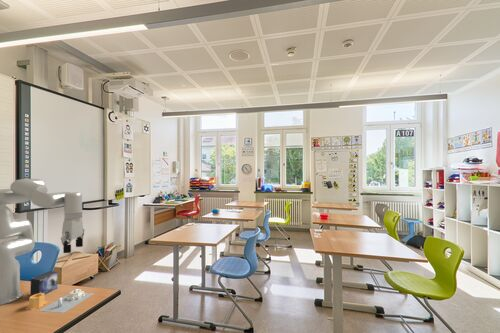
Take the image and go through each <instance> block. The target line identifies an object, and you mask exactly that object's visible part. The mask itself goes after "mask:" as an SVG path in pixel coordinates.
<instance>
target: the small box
mask: <svg viewBox="0 0 500 333" xmlns="http://www.w3.org/2000/svg"><path fill="white" fill-rule="evenodd" d="M58 275H59V274H58V271H53V270H51V271H50V270H49V271H47V272H44V273H42V274H39V275H36V276H34V277H31V278H30V292H29V293H30V295H29V296H32V295H35V294H38V293H44V296H45V295H47V294H49V293H51V292H53V291H55V290H57V289H58V282H59V281H58V278H59V277H58Z"/></svg>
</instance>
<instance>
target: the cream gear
mask: <svg viewBox="0 0 500 333" xmlns="http://www.w3.org/2000/svg"><path fill="white" fill-rule="evenodd" d="M77 289H78V292H76V293H74V290H75V289H73V290H72V291H70V292H69V294H70V295H68V294H66V295H67V300H71V301H74V300H75V299H80V298H81V297H83V296H84V293H85V291H84V290H82V289H81V288H77Z"/></svg>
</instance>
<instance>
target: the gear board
mask: <svg viewBox="0 0 500 333" xmlns="http://www.w3.org/2000/svg"><path fill="white" fill-rule="evenodd" d="M78 289H79V288H75V289H73V290H74V293H76V292H78ZM67 295H70V293H68V294H66V295H64V296H63V297H59V298H58V299H57V300H56V301H54V302H52V303H49V305H48V304H47V306H46V305H45V307H43V308H40V310H39V312H49V313H60V314H61V313H62V314H64V313H65V312H67V311H69V310H70V309H72V308H74V307H76V306H77V305H79V304H80V303H81V302H82V303H83V301H85V300H86V299H88V298H90V297H91V296H93V295H95V293H92V292H84V296H83V297H81V298H80V299H75V300H74V301H71V300H67Z"/></svg>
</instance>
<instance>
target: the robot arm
mask: <svg viewBox="0 0 500 333" xmlns="http://www.w3.org/2000/svg"><path fill="white" fill-rule="evenodd" d="M48 191H49V190H48V188H47V186H46V183H45V181H43V180H42V179H39V178H21V179H16V180H14V181H13V182H12V183H11V184H10V188H1V189H0V240H5V241H2V242H0V306H3V305H7V304H11V303H12V302H15V301H18V300H20V299H21V298H23V296H24V293H25V292H23V291H21V289H20V288H21V286H20V285H21V283H20V282H21V277H20V276H21V271H20V270H21V264H20V262H19V260H17V259H16V257H19V256H22V255H24V254H27V253H30V252H32V251H33V250H34V248H35V243H36V242H35V236H34V229H33V225H32V222H31V221H30V220H29V219H28V218H14V213H13V211H12V209H11V208H10V207H9V206H8V205H12V204H13V205H14V204H24V203H27V202H29V201H31V203H32V204H33V205H34V206H37V207H39V208H43V209H53V208H60V207H63V212H64V214H63V216H64V217H63V222H62V223H63V224H62V230H61V237H60V241H61V245H62V246H63V247H62V248H63V254H70V253H72V244H71V242H72V241H73V240H75V247H76V248H83V247H84V235H85V228H84V225H83V194H82V192H78V191H77V192H71V191H70V192H69V191H61V192H48ZM14 237H17V238H15V239H14ZM10 238H13V239H10ZM6 239H10V240H6Z"/></svg>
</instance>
